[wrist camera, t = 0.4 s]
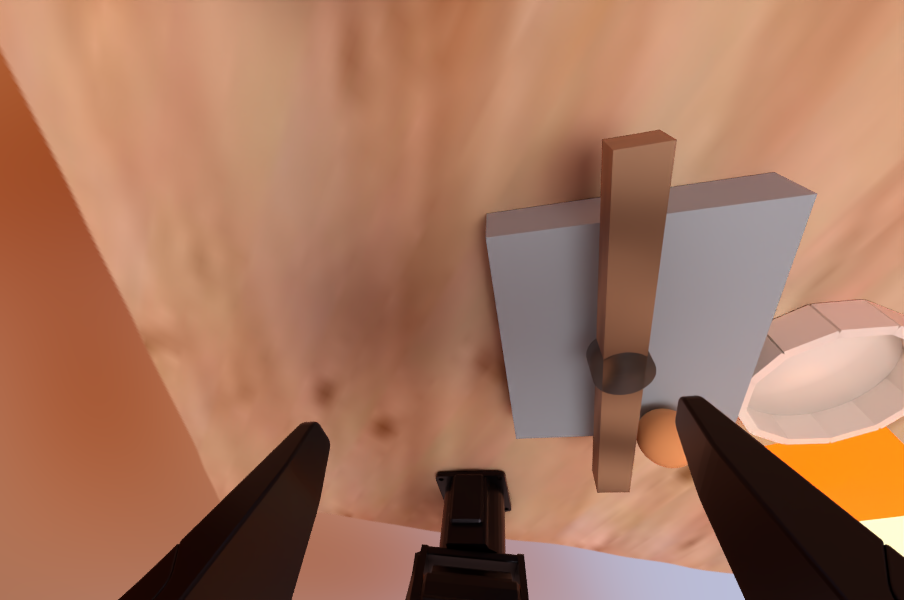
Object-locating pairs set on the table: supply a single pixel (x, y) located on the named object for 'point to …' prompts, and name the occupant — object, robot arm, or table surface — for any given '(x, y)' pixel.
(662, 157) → the lever
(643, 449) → the ball
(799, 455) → the orange juice
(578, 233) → the board
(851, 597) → the robot arm
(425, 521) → the table surface
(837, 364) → the bowl
